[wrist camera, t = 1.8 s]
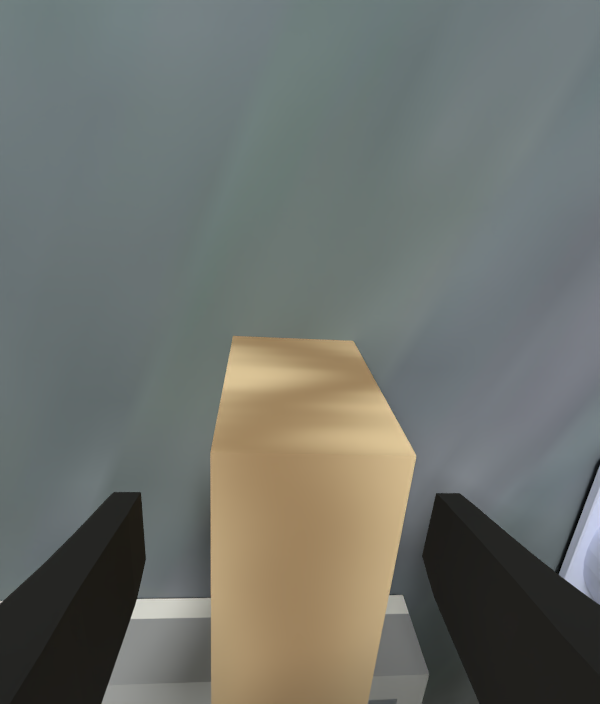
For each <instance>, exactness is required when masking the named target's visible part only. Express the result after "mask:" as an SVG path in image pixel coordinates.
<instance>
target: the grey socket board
mask: <svg viewBox="0 0 600 704" xmlns="http://www.w3.org/2000/svg"><path fill="white" fill-rule="evenodd" d="M1 602H3V601H0V603H1ZM428 678H429V672H428V669H427V666H426V663H425V660H424V657H423V654H422V651H421V648H420V645H419V642H418V639H417V636H416V633H415V630H414V627H413V624H412V621H411V618H410V615H409V612H408V609H407V606H406V603H405V600H404V597H403V595H389V598H388V603H387V608H386V613H385V618H384V623H383V628H382V633H381V639H380V644H379V649H378V654H377V659H376V664H375V669H374V674H373V679H372V684H371V689H370V694H369V700H368V704H422V700H423V696H424V693H425V689H426V685H427V681H428ZM102 704H211V598H176V599H137V600H136V604H135V607H134V610H133V613H132V616H131V619H130V622H129V625H128V628H127V631H126V634H125V637H124V640H123V643H122V646H121V649H120V651H119V654H118V657H117V660H116V663H115V666H114V669H113V672H112V675H111V678H110V680H109V683H108V686H107V689H106V692H105V695H104V698H103V701H102Z"/></svg>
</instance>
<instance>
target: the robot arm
mask: <svg viewBox="0 0 600 704" xmlns="http://www.w3.org/2000/svg"><path fill="white" fill-rule="evenodd" d="M422 557H423V560H424V564H425V567H426V571H427V575H428V578H429V581H430V585H431V588H432V591H433V594H434V598H435V600H436V602H437V605H438V607H439V610H440V612H441V614H442V617H443V619H444V622H445V624H446V626H447V629H448V631H449V633H450V636H451V638H452V640H453V643H454V645H455V647H456V650H457V652H458V654H459V657H460V659H461V661H462V664H463V666H464V668H465V671H466V673H467V675H468V678H469V680H470V682H471V685H472V687H473V689H474V692H475V694H476V696H477V699H478V701H479V704H600V466H599V469H598V472H597V474H596V477H595V480H594V482H593V485H592V487H591V490H590V493H589V495H588V498H587V501H586V503H585V506H584V509H583V511H582V514H581V517H580V519H579V522H578V525H577V527H576V530H575V533H574V535H573V538H572V540H571V543H570V546H569V548H568V551H567V554H566V556H565V559H564V562H563V564H562V567H561V570H560V572H559V575H558V574H557V573H556V572H554V571H553V570H552V569H551V568H549V567H548V566H547V565H546V564H544V563H543V562H542V561H540V560H539V559H538V558H537V557H536V556H534V555H533V554H532V553H531V552H529V551H528V550H527V549H526V548H524V547H523V546H522V545H521V544H520V543H518V542H517V541H516V540H515V539H514V538H512V537H511V536H510V535H509V534H508V533H507V532H505V531H504V530H503V529H502V528H501V527H499V526H498V525H497V524H496V523H495V522H494V521H492V520H491V519H490V518H489V517H488V516H487V515H485V514H484V513H483V512H482V511H481V510H479V509H478V508H477V507H476V506H475V505H473V504H472V503H471V502H470V501H469V500H467V499H466V498H465V497H464V496H462V495H461V494H460V493H436V497H435V502H434V506H433V510H432V515H431V519H430V524H429V528H428V533H427V537H426V542H425V546H424V550H423V555H422ZM145 560H146V556H145V542H144V529H143V515H142V501H141V492H114V493H113V494H111V495H110V496H109V497H108V498H107V499H106V500H105V501H104V503H103V504H102V505H101V506H100V507H99V508H98V509H97V510H96V511H95V512H94V513H93V514H92V515H91V516H90V517H89V518H88V520H87V521H86V522H85V523H84V524H83V525H82V526H81V527H80V528H79V529H78V530H77V531H76V532H75V533H74V534H73V535H72V536H71V537H70V538H69V539H68V540H67V541H66V542H65V543H64V544H63V545H62V546H61V547H60V548H59V549H58V550H57V551H56V552H55V553H54V554H53V555H52V556H51V557H50V558H49V559H48V560H47V561H46V562H45V563H44V564H43V565H42V566H41V567H40V568H39V569H38V570H37V571H36V572H34V573H33V574H32V575H31V576H30V577H29V578H28V579H27V580H26V581H25V582H23V583H22V584H21V585H20V586H19V587H18V588H17V589H16V590H15V591H14V592H13V593H11V594H10V595H9V596H8V597H7V598H6V599H5V600H4V601H3V602H1V603H0V704H102V701H103V698H104V695H105V692H106V689H107V686H108V683H109V680H110V678H111V675H112V672H113V669H114V666H115V663H116V660H117V657H118V654H119V651H120V649H121V646H122V643H123V640H124V637H125V634H126V631H127V628H128V625H129V622H130V619H131V616H132V613H133V610H134V607H135V604H136V600H137V596H138V592H139V587H140V583H141V578H142V574H143V569H144V565H145Z"/></svg>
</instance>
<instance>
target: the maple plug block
mask: <svg viewBox="0 0 600 704" xmlns="http://www.w3.org/2000/svg"><path fill="white" fill-rule="evenodd" d="M415 461H416V454H415V452H414V451H413V449H412V447H411V445H410V443H409V441H408V440H407V438H406V436H405V434H404V432H403V431H402V429H401V427H400V425H399V423H398V421H397V420H396V418H395V416H394V414H393V412H392V411H391V409H390V407H389V405H388V403H387V401H386V400H385V398H384V396H383V394H382V392H381V391H380V389H379V387H378V385H377V383H376V381H375V380H374V378H373V376H372V374H371V372H370V371H369V369H368V367H367V365H366V363H365V361H364V360H363V358H362V356H361V354H360V352H359V351H358V349H357V347H356V345H355V343H354V341H339V340H315V339H291V338H267V337H243V336H233V339H232V344H231V350H230V355H229V360H228V365H227V370H226V375H225V381H224V386H223V391H222V396H221V401H220V406H219V411H218V417H217V422H216V427H215V432H214V437H213V442H212V448H211V704H368V700H369V694H370V689H371V684H372V679H373V674H374V669H375V664H376V659H377V654H378V649H379V644H380V639H381V633H382V628H383V623H384V618H385V613H386V608H387V603H388V598H389V593H390V588H391V583H392V578H393V572H394V567H395V562H396V557H397V552H398V547H399V542H400V537H401V532H402V527H403V522H404V517H405V511H406V506H407V501H408V496H409V491H410V486H411V481H412V476H413V471H414V466H415Z"/></svg>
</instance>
